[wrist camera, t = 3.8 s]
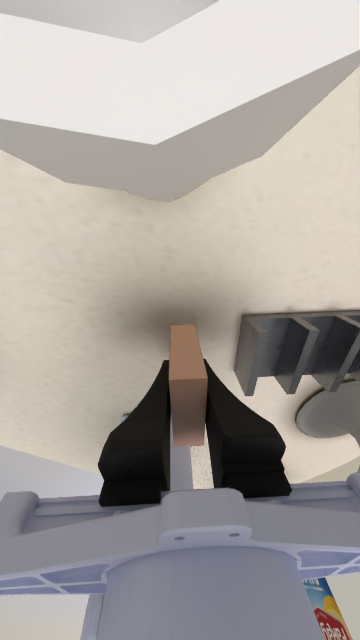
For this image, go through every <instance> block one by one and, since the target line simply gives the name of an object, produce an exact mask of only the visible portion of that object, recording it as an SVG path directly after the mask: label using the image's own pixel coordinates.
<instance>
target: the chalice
mask: <svg viewBox="0 0 360 640" xmlns="http://www.w3.org/2000/svg"><path fill="white" fill-rule="evenodd" d="M296 425H297V427H298V429H299V430H300V431H301V432H302V433H304V434H306V435H309V436H312V437H316V438H332V437H338V436H342V435H345V434H349V433H350V434H351V435H352V436H353V437H354V438H355V439H356V441H357V442H358V444H359V446H360V383H359V382H358V381H350V382H345V383H341V384H340V386H339V388H338V389H337V391H336V392H328V391H327V390H323V391H321V392H320V393H318V394H317V395H315V396H314V397H312V398H311V399H310V400H309V401H307V402H306V403H305V404H304V405H303V407H302V408H301V409H300V411H299V413H298V415H297V417H296ZM357 472H360V467H359V469H358V471H357Z"/></svg>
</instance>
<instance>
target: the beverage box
mask: <svg viewBox="0 0 360 640" xmlns="http://www.w3.org/2000/svg"><path fill="white" fill-rule="evenodd" d="M302 581H303V584H304V586H305V589H306V592H307V594H308V597H309V600H310V602H311V605H312V608H313V610H314V613H315V616H316V618H317V621H318V624H319V626H320V629H321V631H322V634H323V637H324V639H325V640H352V637H351V635H350V633H349V631H348V628H347V626H346V624H345V622H344V619H343V617H342V615H341V613H340V611H339V609H338V606H337V604H336V602H335V599H334V597H333V595H332V592H331V590H330V588H329V586H328V583H327V581H326V579H325V577H323V578H315V579H308V580H302Z"/></svg>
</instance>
